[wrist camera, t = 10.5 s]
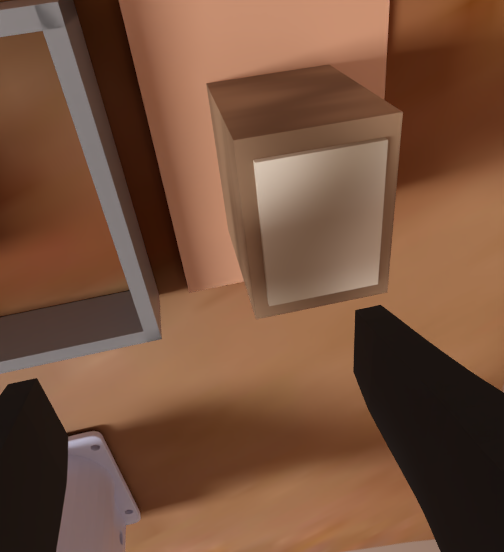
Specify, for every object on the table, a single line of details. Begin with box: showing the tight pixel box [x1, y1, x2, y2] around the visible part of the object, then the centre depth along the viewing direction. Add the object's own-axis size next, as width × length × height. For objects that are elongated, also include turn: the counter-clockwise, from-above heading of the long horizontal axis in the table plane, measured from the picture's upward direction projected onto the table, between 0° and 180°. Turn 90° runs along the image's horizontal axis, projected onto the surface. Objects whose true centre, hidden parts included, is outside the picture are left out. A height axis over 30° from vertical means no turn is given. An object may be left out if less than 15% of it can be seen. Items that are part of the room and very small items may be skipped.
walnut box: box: [206, 64, 403, 319], centre depth 16 cm, size 4×6×6 cm
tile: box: [119, 0, 390, 293], centre depth 19 cm, size 12×9×1 cm
